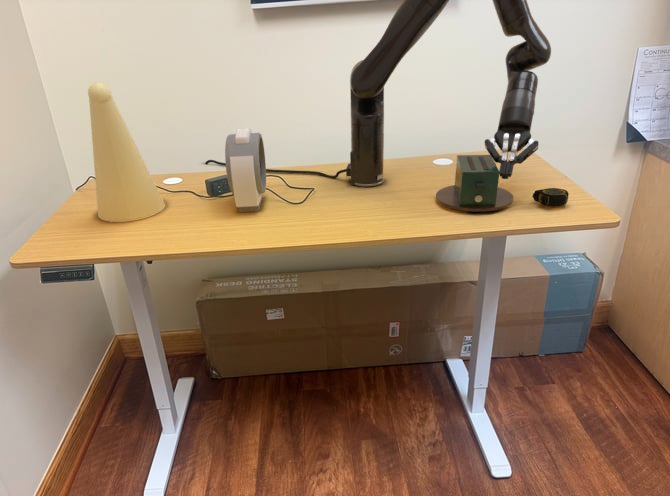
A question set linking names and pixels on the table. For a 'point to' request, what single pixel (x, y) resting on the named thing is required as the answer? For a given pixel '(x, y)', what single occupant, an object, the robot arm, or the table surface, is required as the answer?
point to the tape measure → (551, 197)
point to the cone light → (118, 164)
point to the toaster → (475, 186)
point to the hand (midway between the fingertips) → (504, 177)
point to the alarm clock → (246, 168)
